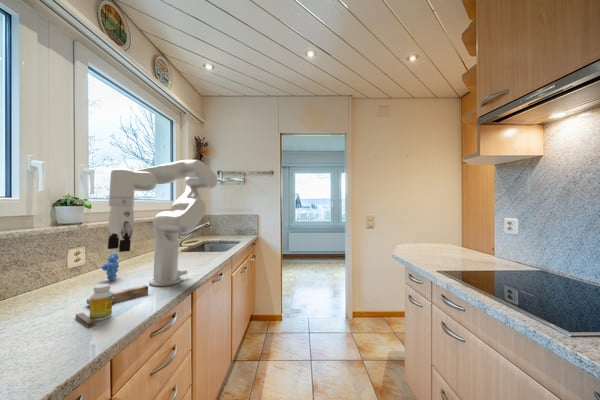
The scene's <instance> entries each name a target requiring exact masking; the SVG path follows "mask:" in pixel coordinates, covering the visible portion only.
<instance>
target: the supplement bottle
mask: <svg viewBox="0 0 600 400" xmlns="http://www.w3.org/2000/svg"><path fill="white" fill-rule="evenodd" d="M112 292H113V291H111V284H109V283H103V284H97V285H94V286H93V293H91V295H90V305H89V317H90V318H91V319H93V320H94V321H95V322H97V321H103V320H107V319H109V318H110V317H111V316H112V313H113V303H112V295H113V293H112Z"/></svg>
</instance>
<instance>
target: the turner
mask: <svg viewBox="0 0 600 400" xmlns="http://www.w3.org/2000/svg"><path fill="white" fill-rule="evenodd" d="M111 292H112V293H113V295H112V304H114V303H116V302H117V303H118V302H121V301H126V300H129V299H133V298H136V297H141V296H144V295H148V294H149V285H146V284H144V285H139V286H134V287H130V288H125V289H122V290H117V291H111ZM90 298H91V297H90ZM90 298H86V304H87V305H89V306H90Z"/></svg>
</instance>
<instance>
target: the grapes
mask: <svg viewBox="0 0 600 400" xmlns="http://www.w3.org/2000/svg"><path fill="white" fill-rule="evenodd" d="M107 260H108V261H107V263H104V264H103V265H102V266H101V267H100V268H101V269H102V270H103V271H104V272H106V275H107V276H106V278H107V280H108V281H110V282H111V281H114V280H115V279H116V277H118V275H117V272H119V270H118V268H119V267H120V265H119V264H120V263H119V262H118V260H119V255H118V254H117V253H116V252H113V253H111V254H110V255H109V258H107Z"/></svg>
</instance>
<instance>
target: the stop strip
mask: <svg viewBox="0 0 600 400" xmlns="http://www.w3.org/2000/svg"><path fill="white" fill-rule="evenodd" d="M75 319H76V320H77V321H79V323H81V324H82V325H84V326H86V327H87V328H92V327H95V326H96V321H94V320H93V319H91V318H90V316H88V315H87V314H85V313H84V312H80V313H76V314H75Z"/></svg>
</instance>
